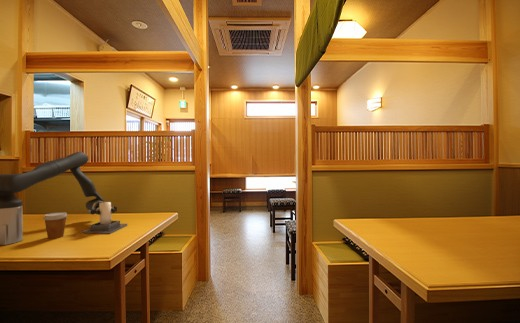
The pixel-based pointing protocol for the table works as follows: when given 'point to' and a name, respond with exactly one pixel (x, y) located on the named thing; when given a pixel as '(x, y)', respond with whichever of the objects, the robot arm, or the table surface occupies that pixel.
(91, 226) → the stand
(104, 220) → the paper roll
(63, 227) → the disposable coffee cup
